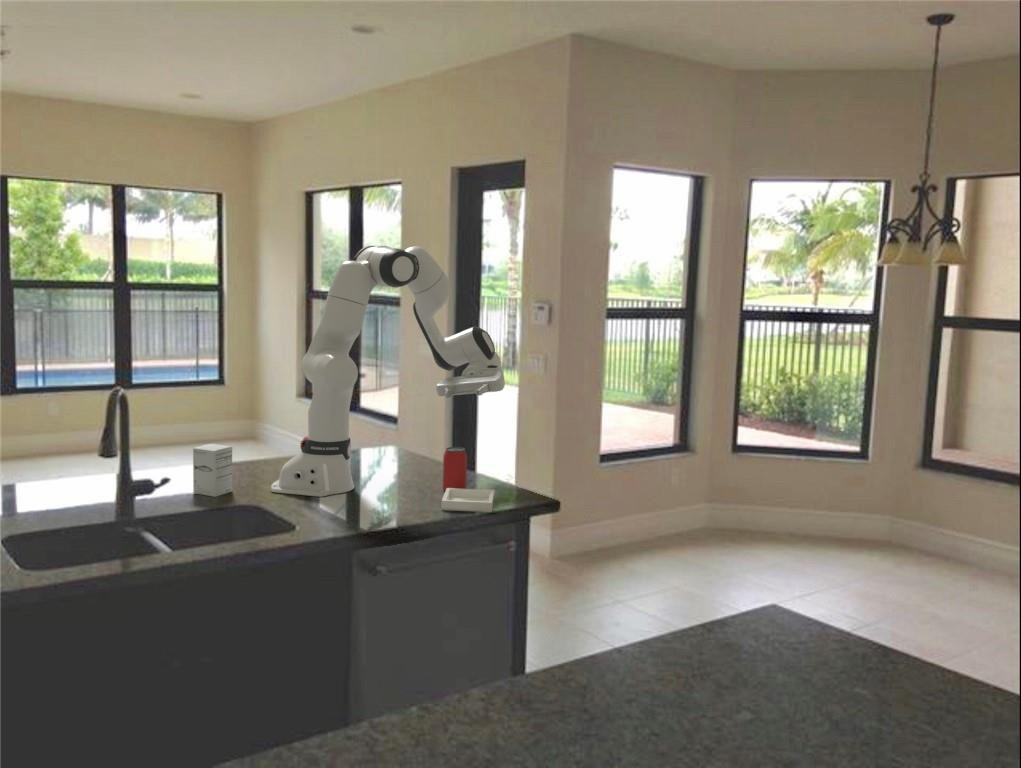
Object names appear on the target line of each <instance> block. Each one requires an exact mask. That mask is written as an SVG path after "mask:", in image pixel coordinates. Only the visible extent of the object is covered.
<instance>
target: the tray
mask: <svg viewBox="0 0 1021 768" xmlns="http://www.w3.org/2000/svg"><path fill="white" fill-rule="evenodd" d="M494 500H495V489H486V488H485V489H482V488H466V489H460V488H447V489H446V491H444V494H443V496H442V499H441V511H455V512H456V511H458V512H478V513H479V512H482V513H492V511H493V508H492V507H493V506H494V502H493V501H494Z"/></svg>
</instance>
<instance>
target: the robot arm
mask: <svg viewBox="0 0 1021 768" xmlns="http://www.w3.org/2000/svg"><path fill="white" fill-rule="evenodd" d="M377 285H378V286H379V287H387V288H390V287H392V288H401V287H404V286H407V287H408V288H409V289H410V291H411V293H412V295H413V297H414V299H415V300H414V302H413V305H412V309H413V314H414V317H415V319H416V322H417V324H418V326H419V328H420V331H421V332H422V335H423V337H424V338H425V340H426V342H427V344H428V346H429V348H430V351H431V353H432V357H433V360H434V362H435V364H436V365H437V366H438V367H439V368H440V369H443V370H446V371H449V372H450V371H453V370H454V369H457V368H459V367H460V366H463V365H465V364H468V365H467V366H466V367H465V369H463V370H462V373H461V375H460V376H459V375H457V376H450V377H445V378H443V379H442V380H440V381H438V383H437V384H436V385H435V388H436V389H435V390H436V393H437V396H438V397H444V398H445V399H451V398H452V397H453V396H460V395H470V394H475V395H476V397H477V396H483V394H486V393H494V392H496V393H498V392H501V391H503V390H504V388H505V385H506V383H505V381H506V380H505V375H504V372H503V371H504V370H503V368H502V366H501V365H502V362H501V358H500V356H499V354H498V353H497V352H496V348H495V345H494V341H493V340H492V338H491V336H490V334H489V332H487V331H486V330H484V329H483V328H481V327H480V326H475V325H474V326H472V327H469V328H467V329H464V330H462V331H460V332H458V333H455V334H453V335H450V336H443V335H442V334H441V332H440V329H439V327H438V325H437V323H436V321H435V319H434V317H435V315H436V314H437V313H438V312H439V311H440V310H441V309H442V308H443V307H444V305H445V304H446V303H447V302H448V300H449V297H450V296H451V289H452V287H451V282H450V280H449V277H448V276H447V274H446V273H445V271H444V270H443V269H442V267H441V266H440V265H439V263H438V262H437V261H436V260H435V258H434V257H433V256H432V255H431V254H430V253H429V252H428V251H427V250H426V249H425V248H423V247H421V246H419V245H414V246H410V247H407V248H406V249H402V248H394V247H391V246H387V245H368V246H366V247H362V248H361V249H360V250H358V252H357V253H356V254H355V256H354V257H353V259H351V260H347V261H343V262H342V263H341V264H339V266H338V268H337V270H336V271H335V273H334V276H333V278H332V280H331V283H330V286H329V289H328V292H327V296H326V300H325V303H324V307H323V311H322V314H321V318H320V322H319V324H318V327H317V329H316V330H315V333H314V335H313V338H312V340H311V342H310V345H309V347H308V349H307V351H306V353H305V355H304V356H303V358H302V361H301V368H302V372H303V374H304V376H305V378H306V380H308V381H309V382H310V384H311V383H312V384H313V392H312V396H311V402H310V406H309V408H308V411H307V415H308V416H307V419H308V420H307V433H308V435H306V436H305V437H303V438H302V440H301V441H300V444H299V446H300V447H299V448H300V450H301V451H299V452H298V453H297V454H296V455H294V456H293V457H292V458H291V459H288V461H287V462H285V463H284V465H282V467H281V468H280V469H281V470H280V473H279V478H278V479H277V480H276V481H273V483H271V486H270V491H271V492H273V493H278V494H279V493H280V494H289V495H301V496H310V497H321V498H322V497H327V496H330V495H338V494H343V493H347V492H350V491H352V490H354V488H355V484H354V480H353V477H352V472H351V471H352V470H351V463H350V459H351V454H352V445H351V438H350V408H351V407H350V406H351V402H352V399H353V398H352V397H353V394H354V393H353V392H354V386H355V384H356V383H357V380H358V376H359V374H358V373H359V371H358V367H357V364H356V363H355V361H354V359H352V358H351V357H350V356H349V353H350V351H351V348H352V346H353V345H354V342H355V341H356V339H357V338H358V337H359V335H360V334H361V331H362V327H363V323H364V320H365V315H366V311H367V308H368V303H369V301H370V296H371V295H370V294H371V293H372V291H373V290H374V288H375V287H376V286H377Z"/></svg>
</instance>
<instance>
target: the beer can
mask: <svg viewBox="0 0 1021 768" xmlns="http://www.w3.org/2000/svg"><path fill="white" fill-rule="evenodd" d="M444 450H445V451H444V454H443V459H442V460H443V461H442V462H443V463H442V464H443V465H442V490H443V491H444V492H445V491H446V489H447V488H460V489H467V472H468V471H467V468H468V467H467V466H468V464H467V463H468V456H467V453H466V449H465V448H464V447H461V446H449V447H446V448H445V449H444Z"/></svg>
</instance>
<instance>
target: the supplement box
mask: <svg viewBox="0 0 1021 768" xmlns="http://www.w3.org/2000/svg"><path fill="white" fill-rule="evenodd" d="M192 460H193V461H192V462H193V463H192V465H193V471H192V472H193V473H192V474H193V475H192V476H193V477H192V478H193V480H192V482H193V483H192V484H193V485H192V486H193V491H192V492H193V494H196V495H197V494H198V495H202V496H209V497H213V498H214V497H215V498H216V497H219V496H222V495H225V494H228V493H231V492H233V446H231V445H224V444H217V443H208V444H203V445H199V446H196V447H193V448H192Z"/></svg>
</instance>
